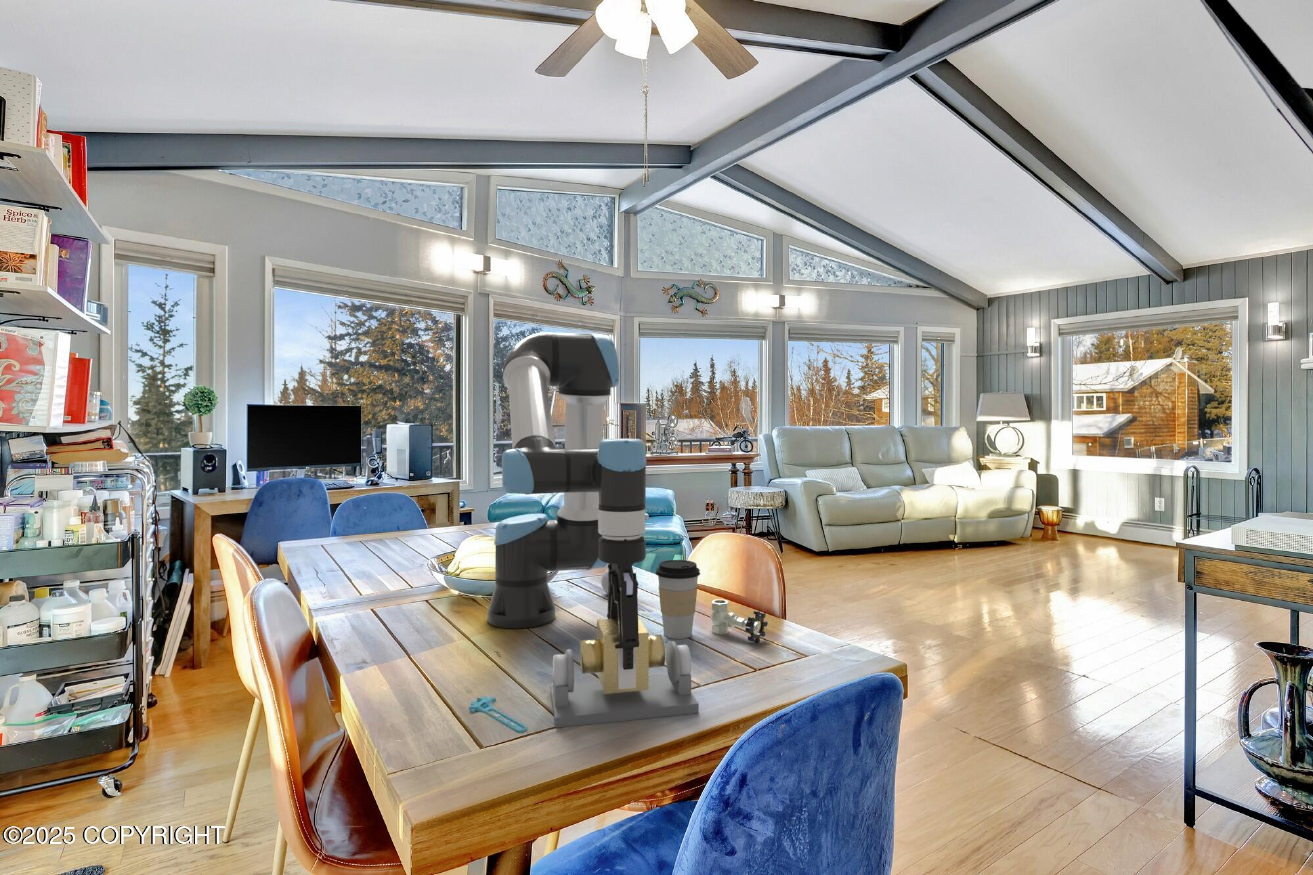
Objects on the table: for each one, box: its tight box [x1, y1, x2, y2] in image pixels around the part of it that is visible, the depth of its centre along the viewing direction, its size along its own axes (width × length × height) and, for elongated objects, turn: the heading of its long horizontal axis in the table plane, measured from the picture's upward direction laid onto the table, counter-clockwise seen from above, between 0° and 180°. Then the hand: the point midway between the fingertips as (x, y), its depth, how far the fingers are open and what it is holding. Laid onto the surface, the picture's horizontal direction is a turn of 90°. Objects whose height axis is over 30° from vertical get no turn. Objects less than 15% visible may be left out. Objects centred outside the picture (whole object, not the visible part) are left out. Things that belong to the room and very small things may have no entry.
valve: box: [709, 598, 769, 644], centre depth 136 cm, size 7×7×12 cm
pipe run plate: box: [550, 640, 700, 729], centre depth 103 cm, size 12×22×9 cm, turn 103°
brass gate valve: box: [579, 616, 666, 694], centre depth 103 cm, size 8×13×9 cm, turn 103°
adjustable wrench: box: [468, 696, 528, 733], centre depth 99 cm, size 14×1×5 cm
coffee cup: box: [655, 559, 701, 640], centre depth 136 cm, size 9×9×15 cm
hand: (622, 676), depth 103 cm, fingers closed on brass gate valve, 8 cm apart
